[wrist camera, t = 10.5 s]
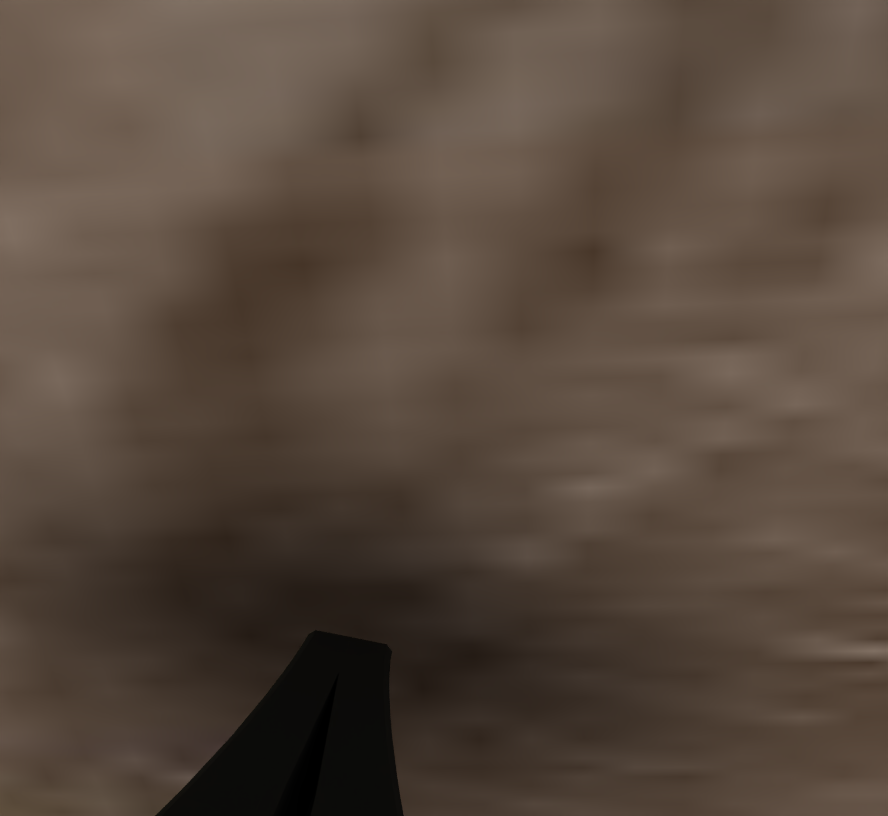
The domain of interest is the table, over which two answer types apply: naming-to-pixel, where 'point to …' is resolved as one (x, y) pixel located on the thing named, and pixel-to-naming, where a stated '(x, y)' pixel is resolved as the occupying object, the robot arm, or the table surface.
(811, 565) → the table surface
